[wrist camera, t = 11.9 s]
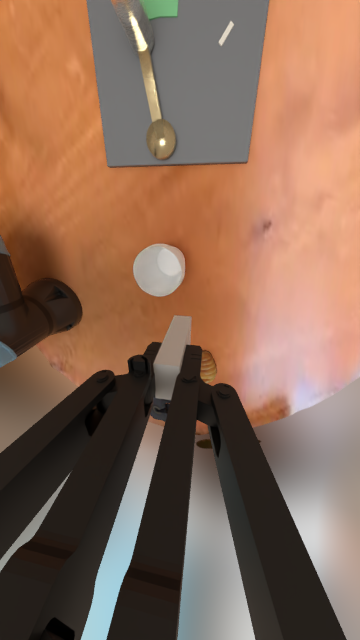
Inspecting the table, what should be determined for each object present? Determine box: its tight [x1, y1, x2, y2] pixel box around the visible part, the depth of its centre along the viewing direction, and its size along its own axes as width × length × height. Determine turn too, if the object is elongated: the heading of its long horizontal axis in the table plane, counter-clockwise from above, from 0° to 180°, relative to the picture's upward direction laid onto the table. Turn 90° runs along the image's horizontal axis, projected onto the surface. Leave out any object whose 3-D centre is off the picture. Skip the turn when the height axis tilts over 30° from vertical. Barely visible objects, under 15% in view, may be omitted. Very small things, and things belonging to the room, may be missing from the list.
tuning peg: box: [111, 0, 176, 160], centre depth 24 cm, size 18×5×14 cm, turn 12°
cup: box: [133, 244, 185, 297], centre depth 38 cm, size 9×9×12 cm
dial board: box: [87, 0, 269, 168], centre depth 30 cm, size 26×20×1 cm
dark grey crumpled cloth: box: [150, 394, 171, 421], centre depth 61 cm, size 15×22×5 cm
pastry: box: [200, 351, 217, 383], centre depth 53 cm, size 9×7×4 cm
